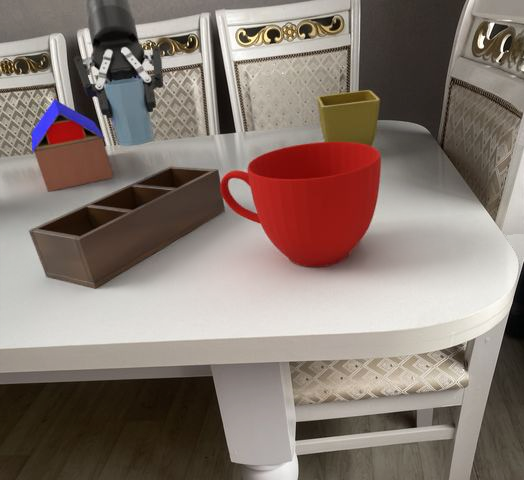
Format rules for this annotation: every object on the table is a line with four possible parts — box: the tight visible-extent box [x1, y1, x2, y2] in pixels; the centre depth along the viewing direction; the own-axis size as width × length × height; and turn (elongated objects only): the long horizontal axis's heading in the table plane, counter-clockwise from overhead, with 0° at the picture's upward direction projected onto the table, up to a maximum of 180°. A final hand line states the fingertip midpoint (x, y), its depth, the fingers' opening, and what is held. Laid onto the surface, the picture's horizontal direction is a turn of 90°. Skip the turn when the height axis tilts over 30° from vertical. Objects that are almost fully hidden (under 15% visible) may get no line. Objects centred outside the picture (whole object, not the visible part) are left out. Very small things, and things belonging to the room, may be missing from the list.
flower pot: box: [316, 89, 381, 147], centre depth 84 cm, size 9×9×9 cm
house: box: [31, 98, 114, 192], centre depth 96 cm, size 12×20×12 cm, turn 21°
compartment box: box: [28, 165, 226, 289], centre depth 64 cm, size 8×24×6 cm, turn 147°
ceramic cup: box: [220, 141, 382, 268], centre depth 55 cm, size 13×17×10 cm
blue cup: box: [104, 78, 155, 147], centre depth 85 cm, size 6×6×9 cm
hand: (129, 111), depth 83 cm, fingers closed on blue cup, 6 cm apart
